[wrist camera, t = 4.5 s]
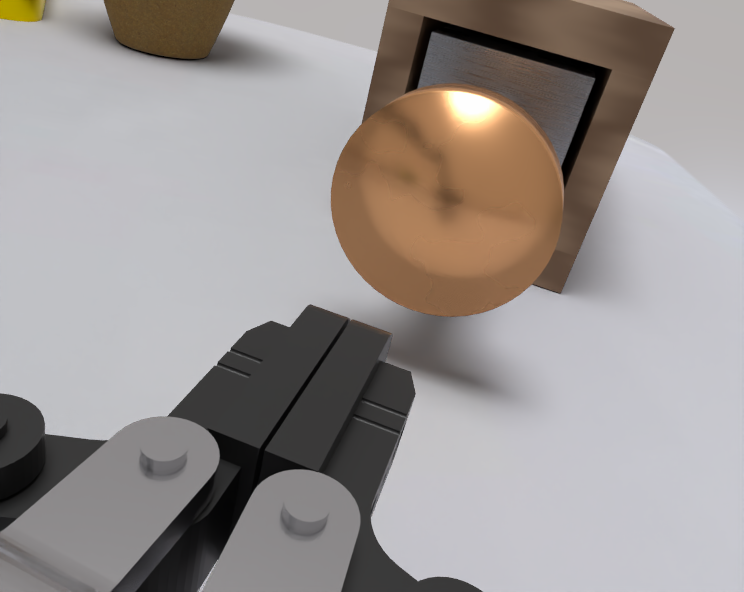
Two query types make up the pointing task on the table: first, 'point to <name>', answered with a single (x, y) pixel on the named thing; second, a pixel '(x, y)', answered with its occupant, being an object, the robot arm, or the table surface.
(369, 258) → the plunger
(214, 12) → the plant pot
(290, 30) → the table surface
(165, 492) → the robot arm
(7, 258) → the table surface
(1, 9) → the element tile
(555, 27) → the box
